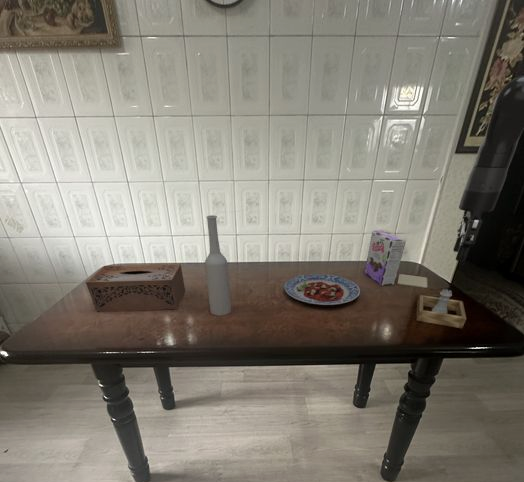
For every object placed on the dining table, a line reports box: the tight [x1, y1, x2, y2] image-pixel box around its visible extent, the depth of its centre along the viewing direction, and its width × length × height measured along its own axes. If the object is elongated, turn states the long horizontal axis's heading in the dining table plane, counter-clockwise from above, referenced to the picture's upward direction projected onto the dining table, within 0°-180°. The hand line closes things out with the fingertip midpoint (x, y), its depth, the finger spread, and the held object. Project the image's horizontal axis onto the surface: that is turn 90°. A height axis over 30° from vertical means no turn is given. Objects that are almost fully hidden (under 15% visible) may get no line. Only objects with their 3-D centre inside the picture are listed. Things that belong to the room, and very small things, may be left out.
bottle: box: [204, 214, 232, 316], centre depth 88 cm, size 7×7×28 cm
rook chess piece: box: [431, 288, 453, 314], centre depth 89 cm, size 4×4×8 cm
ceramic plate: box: [284, 273, 361, 306], centre depth 105 cm, size 26×26×3 cm
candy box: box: [363, 229, 407, 286], centre depth 111 cm, size 14×6×16 cm, turn 10°
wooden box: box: [415, 294, 467, 329], centre depth 91 cm, size 12×12×3 cm
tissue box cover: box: [85, 263, 186, 312], centre depth 99 cm, size 26×14×10 cm, turn 92°
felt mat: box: [397, 273, 428, 289], centre depth 114 cm, size 10×10×1 cm
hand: (458, 255), depth 81 cm, fingers open, 8 cm apart
